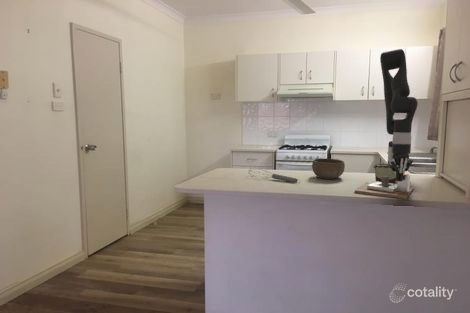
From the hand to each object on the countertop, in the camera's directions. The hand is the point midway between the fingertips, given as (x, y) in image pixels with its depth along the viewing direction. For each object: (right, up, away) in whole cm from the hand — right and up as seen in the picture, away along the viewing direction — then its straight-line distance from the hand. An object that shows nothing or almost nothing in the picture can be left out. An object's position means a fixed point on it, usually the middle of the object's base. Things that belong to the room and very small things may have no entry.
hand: (399, 181), depth 161 cm
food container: (+6, -3, +27) cm, 28 cm away
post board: (-3, -5, +9) cm, 11 cm away
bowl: (-21, -1, +43) cm, 48 cm away
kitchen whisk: (-53, -2, +39) cm, 65 cm away
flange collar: (-1, -4, +7) cm, 8 cm away
